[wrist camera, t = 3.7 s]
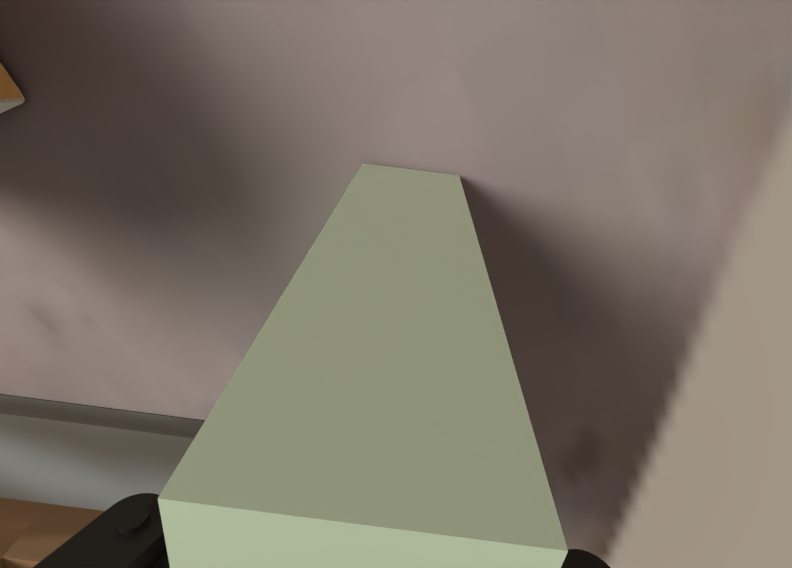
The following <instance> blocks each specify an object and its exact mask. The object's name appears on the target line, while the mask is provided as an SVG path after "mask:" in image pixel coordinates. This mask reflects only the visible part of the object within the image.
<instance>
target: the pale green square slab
mask: <svg viewBox="0 0 792 568" xmlns="http://www.w3.org/2000/svg"><path fill="white" fill-rule="evenodd" d="M158 504H159V509H160V515H161V520H162V526H163V532H164V537H165V543H166V549H167V554H168V560H169V565H170V568H561V566H562V564H563V562H564V559H565V557H566V555H567V553H568V549H567V545H566V542H565V538H564V535H563V532H562V528H561V525H560V521H559V518H558V514H557V511H556V507H555V504H554V501H553V497H552V494H551V490H550V487H549V483H548V480H547V476H546V473H545V470H544V466H543V463H542V459H541V456H540V452H539V449H538V445H537V442H536V439H535V435H534V432H533V428H532V425H531V421H530V418H529V414H528V411H527V408H526V404H525V401H524V397H523V394H522V390H521V387H520V383H519V380H518V376H517V373H516V370H515V366H514V363H513V359H512V356H511V352H510V349H509V345H508V342H507V339H506V335H505V332H504V328H503V325H502V321H501V318H500V314H499V311H498V308H497V304H496V301H495V297H494V294H493V290H492V287H491V283H490V280H489V277H488V273H487V270H486V266H485V263H484V259H483V256H482V252H481V249H480V246H479V242H478V239H477V235H476V232H475V228H474V225H473V221H472V218H471V215H470V211H469V208H468V204H467V201H466V197H465V194H464V190H463V187H462V183H461V180H460V177H459V175H452V174H444V173H436V172H428V171H420V170H412V169H404V168H396V167H388V166H380V165H372V164H364V163H363V164H362V165H361V167H360V168H359V170H358V172H357V173H356V175H355V177H354V178H353V180H352V182H351V183H350V185H349V186H348V188H347V190H346V191H345V193H344V195H343V196H342V198H341V200H340V201H339V203H338V204H337V206H336V208H335V209H334V211H333V213H332V214H331V216H330V218H329V219H328V221H327V222H326V224H325V226H324V227H323V229H322V231H321V232H320V234H319V235H318V237H317V239H316V240H315V242H314V244H313V245H312V247H311V249H310V250H309V252H308V253H307V255H306V257H305V258H304V260H303V262H302V263H301V265H300V267H299V268H298V270H297V271H296V273H295V275H294V276H293V278H292V280H291V281H290V283H289V285H288V286H287V288H286V289H285V291H284V293H283V294H282V296H281V298H280V299H279V301H278V302H277V304H276V306H275V307H274V309H273V311H272V312H271V314H270V316H269V317H268V319H267V320H266V322H265V324H264V325H263V327H262V329H261V330H260V332H259V334H258V335H257V337H256V338H255V340H254V342H253V343H252V345H251V347H250V348H249V350H248V352H247V353H246V355H245V356H244V358H243V360H242V361H241V363H240V365H239V366H238V368H237V369H236V371H235V373H234V374H233V376H232V378H231V379H230V381H229V383H228V384H227V386H226V387H225V389H224V391H223V392H222V394H221V396H220V397H219V399H218V401H217V402H216V404H215V405H214V407H213V409H212V410H211V412H210V414H209V415H208V417H207V419H206V420H205V422H204V423H203V425H202V427H201V428H200V430H199V432H198V433H197V435H196V436H195V438H194V440H193V441H192V443H191V445H190V446H189V448H188V450H187V451H186V453H185V454H184V456H183V458H182V459H181V461H180V463H179V464H178V466H177V468H176V469H175V471H174V472H173V474H172V476H171V477H170V479H169V481H168V482H167V484H166V486H165V487H164V489H163V490H162V492H161V494H160V495H159V497H158Z"/></svg>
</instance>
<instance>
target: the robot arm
mask: <svg viewBox="0 0 792 568" xmlns="http://www.w3.org/2000/svg"><path fill="white" fill-rule="evenodd" d="M158 497H159V495H158V494H154V493H140V494H135V495H132V496H129V497H126V498H124V499H122V500H120V501H118V502H117V503H115V504H114V505H112V506H111V507H110V508H108V509H107V510H106V511H105V512H103V513H102V514H101V515H99V516H98V517H97V518H96V519H94V520H93V521H92V522H90V523H89V524H88V525H87V526H85V527H84V528H83V529H82V530H80V531H79V532H78V533H76V534H75V535H74V536H73V537H71V538H70V539H69V540H67V541H66V542H65V543H64V544H62V545H61V546H60V547H58V548H57V549H56V550H55V551H53V552H52V553H51V554H49V555H48V556H47V557H46V558H44V559H43V560H42V561H40V562H39V563H38V564H37V565H35V566H34V567H33V568H170V565H169V560H168V554H167V549H166V543H165V537H164V532H163V526H162V520H161V515H160V509H159V504H158ZM561 568H610V567H609V566H608V565H607V564H606V563H605V562H604V561H603V560H601V559H600V558H598V557H597V556H595V555H593V554H591V553H589V552H587V551H583V550H578V549H570V550H568V553H567V555H566V557H565V559H564V562H563V564H562V566H561Z"/></svg>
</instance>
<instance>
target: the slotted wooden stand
mask: <svg viewBox="0 0 792 568" xmlns="http://www.w3.org/2000/svg"><path fill="white" fill-rule="evenodd" d="M204 422H205V421H201V420H194V419H186V418H178V417H170V416H163V415H155V414H147V413H139V412H132V411H124V410H116V409H108V408H101V407H93V406H85V405H77V404H70V403H62V402H54V401H46V400H39V399H31V398H23V397H15V396H8V395H0V568H33V567H34V566H35V565H37V564H38V563H39V562H40V561H42V560H43V559H44V558H46V557H47V556H48V555H49V554H51V553H52V552H53V551H55V550H56V549H57V548H58V547H60V546H61V545H62V544H64V543H65V542H66V541H67V540H69V539H70V538H71V537H73V536H74V535H75V534H76V533H78V532H79V531H80V530H82V529H83V528H84V527H85V526H87V525H88V524H89V523H90V522H92V521H93V520H94V519H96V518H97V517H98V516H99V515H101V514H102V513H103V512H105V511H106V510H107V509H108V508H110V507H111V506H112V505H114V504H115V503H117V502H118V501H120V500H122V499H124V498H126V497H129V496H132V495H135V494H140V493H154V494H158V495H160V494H161V492H162V490H163V489H164V487H165V486H166V484H167V482H168V481H169V479H170V477H171V476H172V474H173V472H174V471H175V469H176V468H177V466H178V464H179V463H180V461H181V459H182V458H183V456H184V454H185V453H186V451H187V450H188V448H189V446H190V445H191V443H192V441H193V440H194V438H195V436H196V435H197V433H198V432H199V430H200V428H201V427H202V425H203V423H204Z"/></svg>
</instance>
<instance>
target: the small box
mask: <svg viewBox="0 0 792 568" xmlns="http://www.w3.org/2000/svg"><path fill="white" fill-rule="evenodd" d="M24 100H25V99H24V97H23V95H22V93H21V91H20V90H19V88H18V87H17V86H16V84H15V83H14V82H13V80H12V79H11V77H10V76H9V74H8V73H7V71H6V70H5V68H4V67H3V65H2V64H1V63H0V114H1V113H3V112H5V111H7V110H9V109H11V108H13V107H16V106H18V105H20V104H22V103H24Z"/></svg>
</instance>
